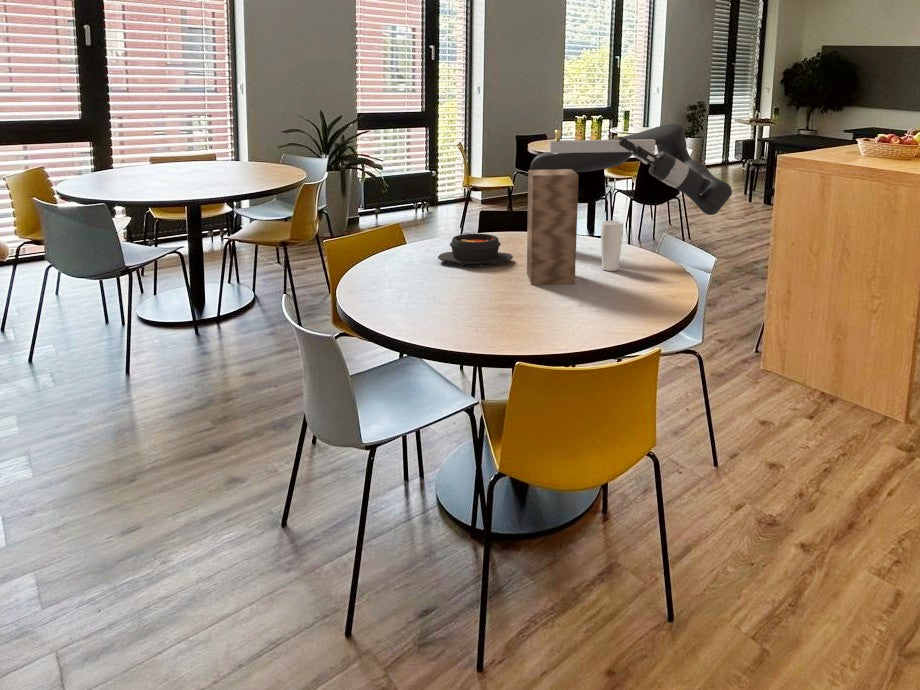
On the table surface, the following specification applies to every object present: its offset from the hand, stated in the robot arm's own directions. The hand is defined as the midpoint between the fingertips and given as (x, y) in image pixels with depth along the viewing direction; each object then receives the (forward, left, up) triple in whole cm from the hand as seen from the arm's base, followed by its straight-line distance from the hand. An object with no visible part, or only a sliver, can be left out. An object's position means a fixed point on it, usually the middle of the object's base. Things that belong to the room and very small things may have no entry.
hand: (619, 140), depth 230 cm
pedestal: (-14, -14, -41) cm, 45 cm away
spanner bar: (-4, -3, -3) cm, 6 cm away
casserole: (-46, -10, -41) cm, 62 cm away
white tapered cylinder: (-5, +7, -41) cm, 42 cm away
